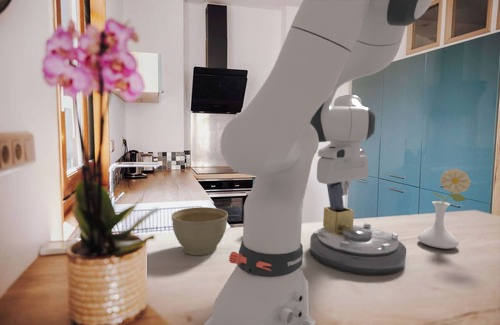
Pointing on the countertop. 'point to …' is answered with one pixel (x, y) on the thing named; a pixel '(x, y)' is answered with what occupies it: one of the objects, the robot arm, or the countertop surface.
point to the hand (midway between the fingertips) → (342, 195)
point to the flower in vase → (437, 233)
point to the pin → (335, 197)
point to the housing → (358, 260)
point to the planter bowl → (199, 229)
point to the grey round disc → (354, 235)
